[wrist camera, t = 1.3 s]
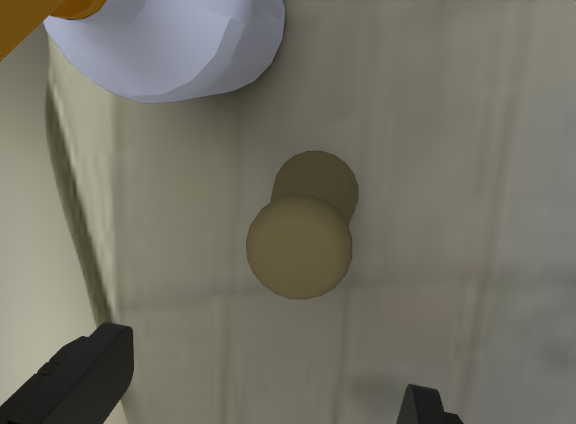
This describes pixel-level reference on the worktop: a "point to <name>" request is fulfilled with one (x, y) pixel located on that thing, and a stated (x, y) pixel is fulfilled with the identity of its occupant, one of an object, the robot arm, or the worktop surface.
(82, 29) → the soap bottle
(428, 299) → the worktop surface
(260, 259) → the cork
